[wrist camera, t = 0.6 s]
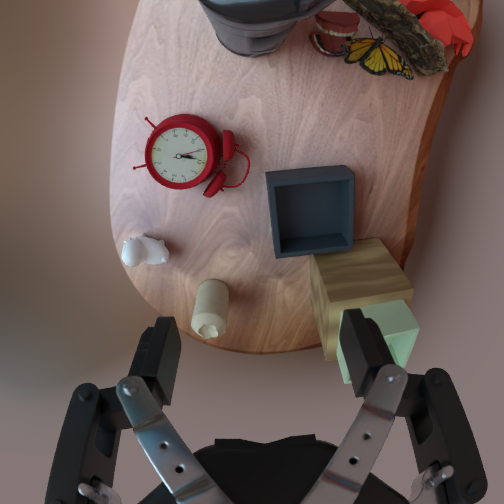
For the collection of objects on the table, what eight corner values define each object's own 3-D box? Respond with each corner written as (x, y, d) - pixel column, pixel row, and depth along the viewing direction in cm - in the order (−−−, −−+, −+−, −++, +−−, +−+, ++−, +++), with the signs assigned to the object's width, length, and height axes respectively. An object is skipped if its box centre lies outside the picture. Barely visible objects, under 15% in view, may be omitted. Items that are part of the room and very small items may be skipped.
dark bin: (265, 172, 41) (267, 181, 37) (344, 164, 40) (354, 173, 36) (273, 243, 47) (275, 258, 43) (344, 234, 46) (352, 249, 42)
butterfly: (420, 38, 26) (434, 61, 25) (385, 72, 34) (395, 95, 33) (349, -1, 23) (361, 19, 21) (317, 44, 31) (323, 66, 30)
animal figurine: (385, -32, 22) (397, -40, 18) (464, 18, 24) (481, 17, 20) (364, 22, 29) (375, 19, 25) (446, 70, 31) (462, 74, 27)
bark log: (331, -3, 27) (339, -14, 22) (351, -21, 25) (362, -34, 19) (421, 82, 33) (441, 87, 27) (439, 64, 30) (461, 67, 24)
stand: (309, 245, 47) (329, 302, 35) (378, 237, 46) (414, 288, 34) (310, 301, 53) (325, 361, 41) (371, 292, 52) (397, 347, 40)
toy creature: (130, 224, 44) (115, 243, 39) (176, 239, 46) (167, 260, 40) (126, 247, 46) (112, 268, 41) (169, 261, 48) (161, 284, 43)
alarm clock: (143, 106, 32) (254, 140, 31) (165, 105, 37) (263, 136, 37) (126, 180, 37) (226, 219, 36) (148, 170, 42) (238, 204, 42)
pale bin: (340, 309, 36) (352, 342, 31) (403, 298, 35) (420, 327, 30) (336, 353, 40) (344, 384, 35) (391, 342, 40) (403, 370, 35)
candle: (234, 285, 51) (232, 327, 42) (222, 307, 53) (218, 348, 45) (204, 274, 49) (196, 315, 41) (193, 297, 52) (185, 337, 43)
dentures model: (369, 32, 24) (352, 62, 32) (361, 7, 23) (346, 39, 31) (322, 28, 24) (311, 61, 32) (315, 3, 23) (307, 37, 31)
